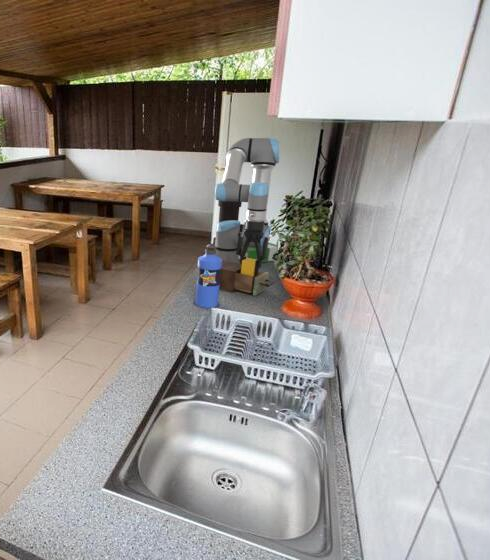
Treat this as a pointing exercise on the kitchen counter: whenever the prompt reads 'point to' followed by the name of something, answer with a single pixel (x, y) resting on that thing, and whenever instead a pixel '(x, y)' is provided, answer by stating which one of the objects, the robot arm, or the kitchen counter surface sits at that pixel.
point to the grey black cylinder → (228, 211)
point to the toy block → (248, 266)
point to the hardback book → (252, 251)
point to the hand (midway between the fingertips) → (249, 272)
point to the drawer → (252, 282)
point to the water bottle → (208, 278)
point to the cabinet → (228, 275)
